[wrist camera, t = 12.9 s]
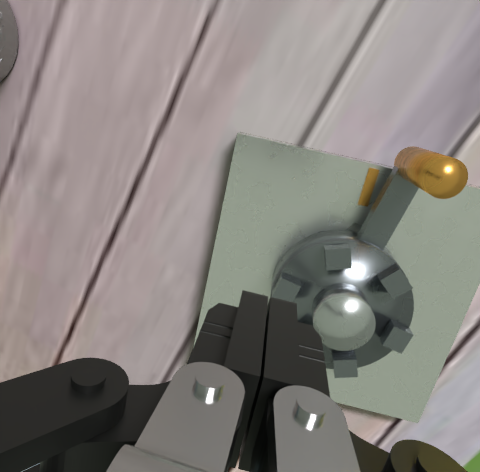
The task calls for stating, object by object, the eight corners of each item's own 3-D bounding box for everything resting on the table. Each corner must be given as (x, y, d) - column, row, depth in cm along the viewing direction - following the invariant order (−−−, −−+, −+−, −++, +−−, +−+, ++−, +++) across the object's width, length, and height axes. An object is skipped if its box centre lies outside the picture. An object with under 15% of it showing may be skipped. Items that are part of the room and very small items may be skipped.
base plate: (194, 353, 41) (189, 365, 39) (240, 131, 34) (237, 133, 32) (411, 408, 40) (418, 423, 38) (504, 192, 33) (517, 197, 31)
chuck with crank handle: (348, 117, 31) (368, 120, 23) (481, 175, 31) (544, 197, 23) (251, 318, 37) (242, 372, 29) (363, 366, 37) (383, 433, 29)
